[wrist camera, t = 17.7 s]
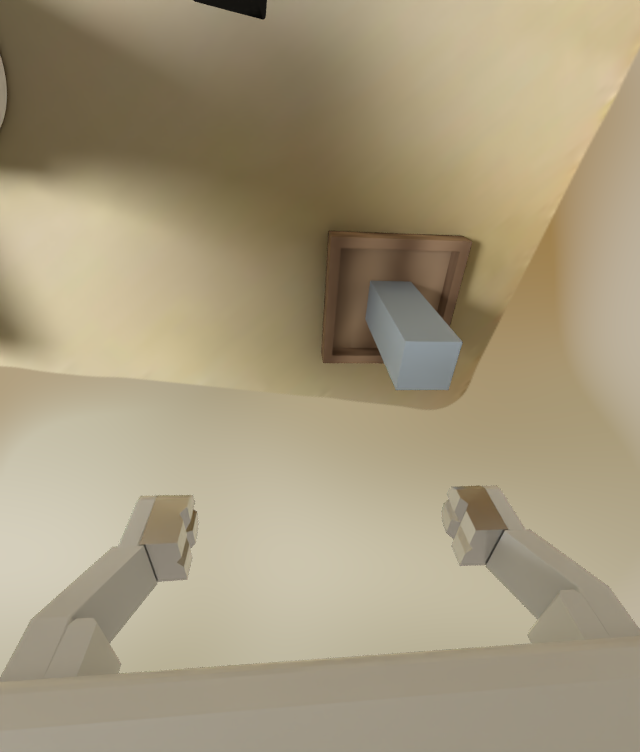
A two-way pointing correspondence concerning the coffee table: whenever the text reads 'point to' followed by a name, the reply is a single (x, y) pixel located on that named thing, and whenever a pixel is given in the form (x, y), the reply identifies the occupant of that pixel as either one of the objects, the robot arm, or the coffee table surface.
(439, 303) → the tray
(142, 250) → the coffee table surface
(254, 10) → the black bracket mount
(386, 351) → the block
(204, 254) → the coffee table surface
